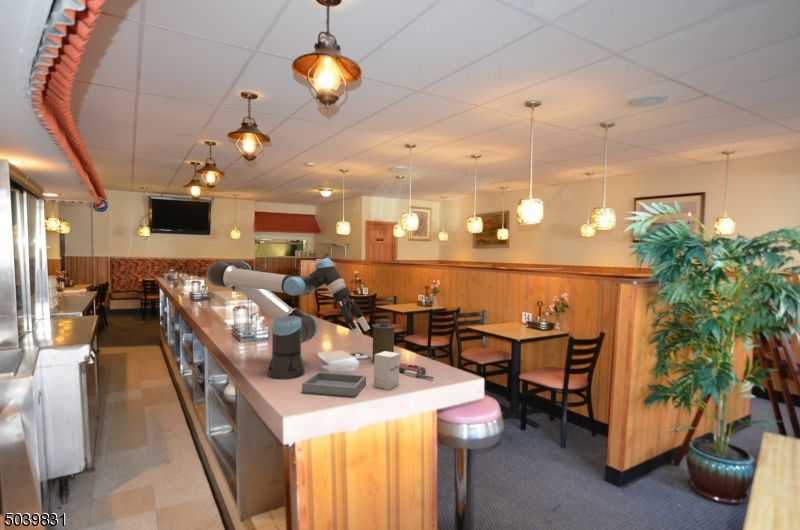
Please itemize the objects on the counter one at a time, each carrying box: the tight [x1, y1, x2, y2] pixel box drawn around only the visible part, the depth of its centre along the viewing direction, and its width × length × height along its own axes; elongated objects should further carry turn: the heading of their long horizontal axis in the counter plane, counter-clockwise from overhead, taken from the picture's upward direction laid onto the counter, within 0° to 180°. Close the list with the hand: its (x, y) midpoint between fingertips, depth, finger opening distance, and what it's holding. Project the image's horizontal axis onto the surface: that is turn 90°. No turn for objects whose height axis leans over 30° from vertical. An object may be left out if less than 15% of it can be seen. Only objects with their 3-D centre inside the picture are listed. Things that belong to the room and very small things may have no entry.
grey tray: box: [301, 371, 367, 399], centre depth 154 cm, size 20×15×4 cm
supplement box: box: [373, 351, 401, 391], centre depth 158 cm, size 7×7×13 cm
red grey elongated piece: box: [399, 362, 434, 380], centre depth 175 cm, size 9×4×20 cm
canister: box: [370, 319, 395, 364], centre depth 192 cm, size 11×10×20 cm
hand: (363, 332), depth 178 cm, fingers open, 13 cm apart
